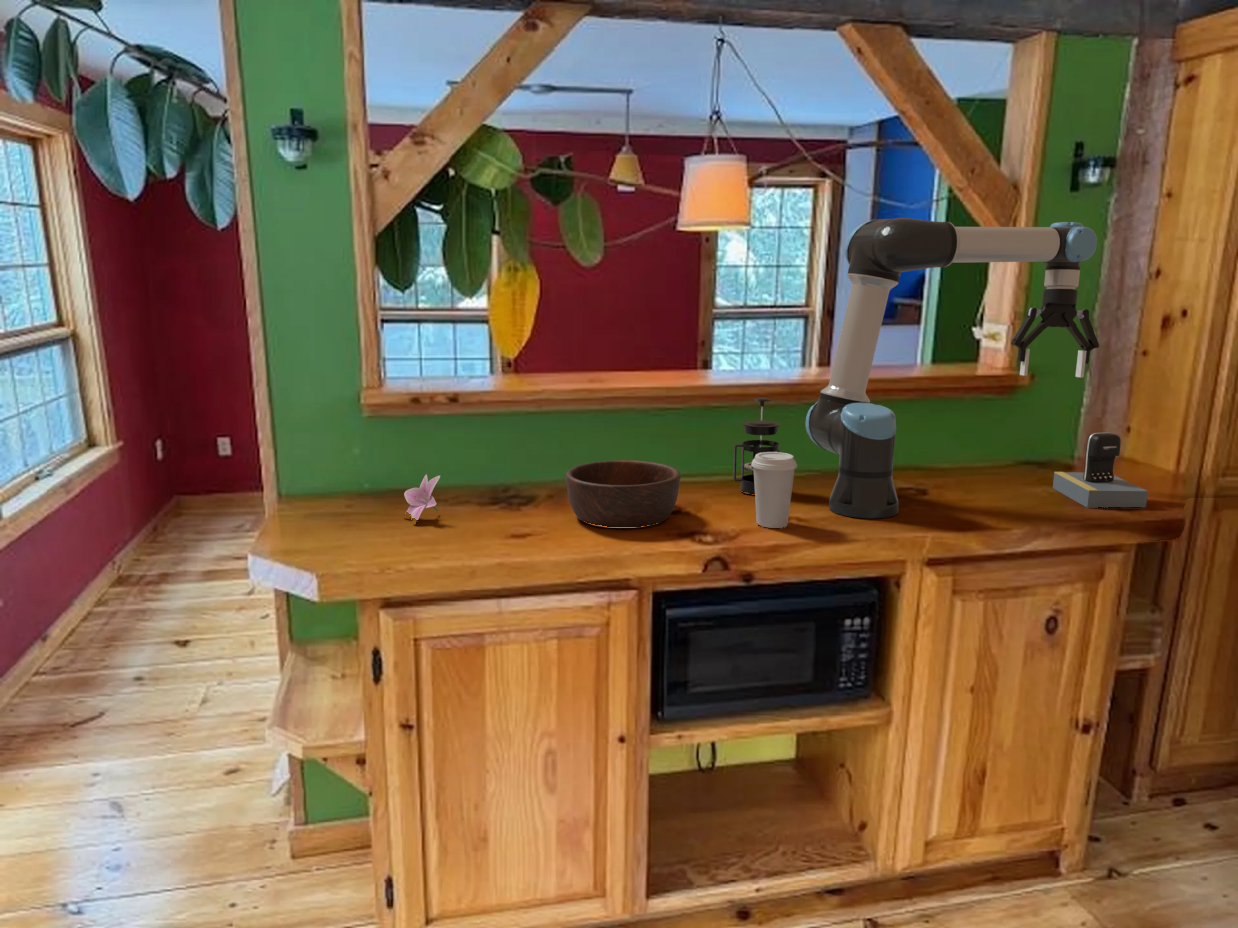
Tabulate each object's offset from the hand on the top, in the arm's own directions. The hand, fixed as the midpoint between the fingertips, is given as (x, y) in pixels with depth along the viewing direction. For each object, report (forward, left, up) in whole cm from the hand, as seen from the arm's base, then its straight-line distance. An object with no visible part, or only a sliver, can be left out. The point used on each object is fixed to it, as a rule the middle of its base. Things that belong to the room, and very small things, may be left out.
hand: (1051, 376), depth 220 cm
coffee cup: (-72, -39, -27) cm, 87 cm away
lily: (-148, -37, -27) cm, 155 cm away
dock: (+7, -15, -27) cm, 32 cm away
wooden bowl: (-104, -34, -27) cm, 113 cm away
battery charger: (+7, -15, -23) cm, 28 cm away
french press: (-72, -11, -27) cm, 78 cm away
